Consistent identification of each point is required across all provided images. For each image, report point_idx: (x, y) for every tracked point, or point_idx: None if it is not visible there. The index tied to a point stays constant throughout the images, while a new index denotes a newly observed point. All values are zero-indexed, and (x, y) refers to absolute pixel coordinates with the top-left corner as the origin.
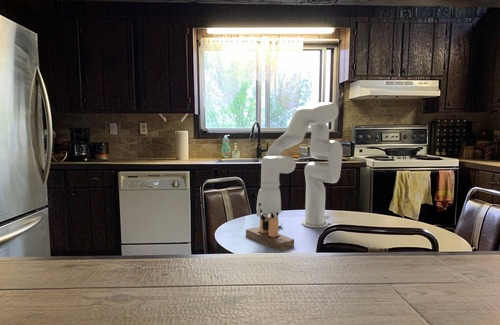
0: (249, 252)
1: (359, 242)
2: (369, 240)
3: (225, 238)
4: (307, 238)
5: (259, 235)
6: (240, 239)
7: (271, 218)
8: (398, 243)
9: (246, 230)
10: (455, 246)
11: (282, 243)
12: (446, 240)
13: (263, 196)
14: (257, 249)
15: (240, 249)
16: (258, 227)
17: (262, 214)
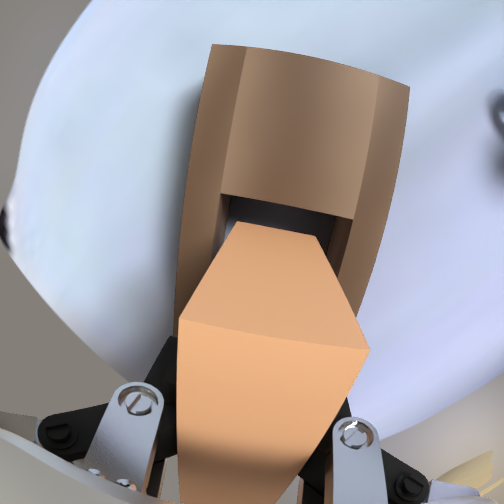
0: (58, 313)
1: (453, 469)
2: (474, 464)
3: (89, 38)
4: (445, 393)
5: (178, 270)
6: (134, 104)
7: (233, 487)
8: (465, 485)
9: (212, 55)
10: None
11: None
12: (494, 484)
13: None
14: (104, 322)
15: (42, 253)
16: (373, 91)
17: (93, 467)
